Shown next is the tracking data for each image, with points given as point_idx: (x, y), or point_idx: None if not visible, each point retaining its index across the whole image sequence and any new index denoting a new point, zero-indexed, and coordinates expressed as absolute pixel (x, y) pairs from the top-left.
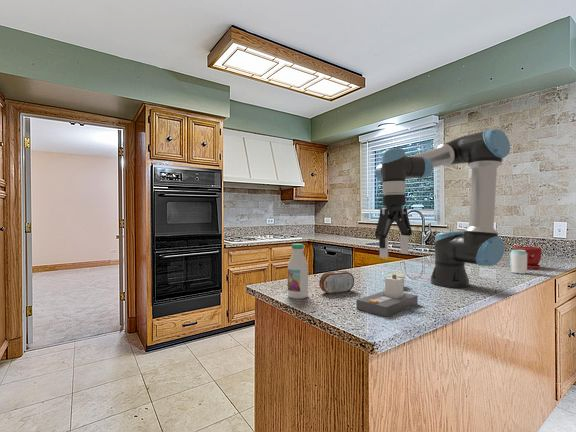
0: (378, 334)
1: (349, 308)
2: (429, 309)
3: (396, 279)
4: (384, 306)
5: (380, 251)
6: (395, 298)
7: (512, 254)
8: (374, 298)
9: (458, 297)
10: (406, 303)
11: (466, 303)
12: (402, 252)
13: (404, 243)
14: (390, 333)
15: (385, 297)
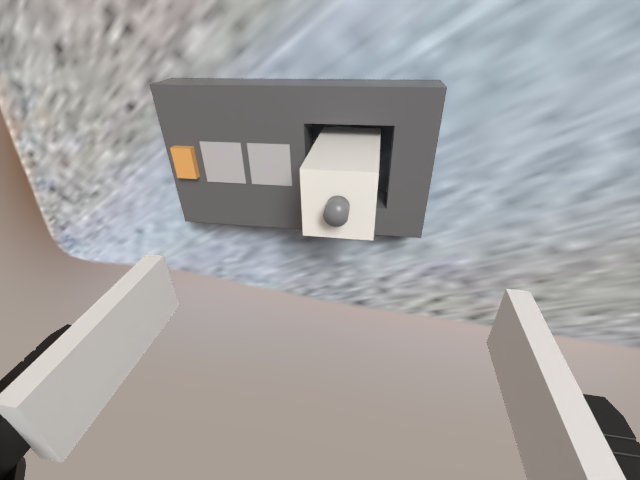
0: (95, 246)
1: (149, 51)
2: (380, 266)
3: (319, 227)
4: (185, 213)
5: (115, 293)
6: None
7: None
8: (233, 132)
9: (636, 294)
10: None
11: None
12: (502, 313)
13: (524, 418)
14: (124, 261)
15: (281, 161)
